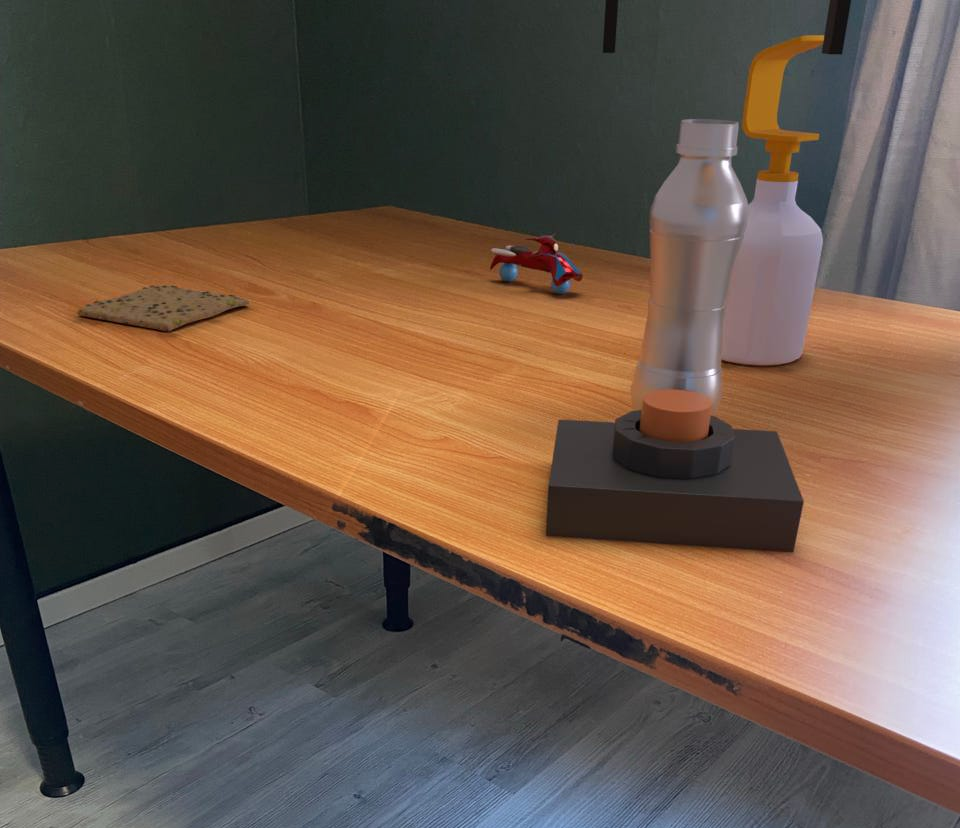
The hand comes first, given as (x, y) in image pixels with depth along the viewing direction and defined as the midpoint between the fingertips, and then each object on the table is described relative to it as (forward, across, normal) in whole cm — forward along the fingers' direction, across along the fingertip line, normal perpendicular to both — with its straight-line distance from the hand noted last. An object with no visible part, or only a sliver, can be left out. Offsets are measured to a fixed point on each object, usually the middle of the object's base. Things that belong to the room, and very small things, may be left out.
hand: (718, 54), depth 62 cm
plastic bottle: (+24, 0, -2) cm, 24 cm away
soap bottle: (+24, +8, +19) cm, 32 cm away
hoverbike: (+24, -14, +41) cm, 50 cm away
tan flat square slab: (+23, -50, +24) cm, 60 cm away
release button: (+19, -2, -16) cm, 25 cm away
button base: (+24, -2, -16) cm, 28 cm away
